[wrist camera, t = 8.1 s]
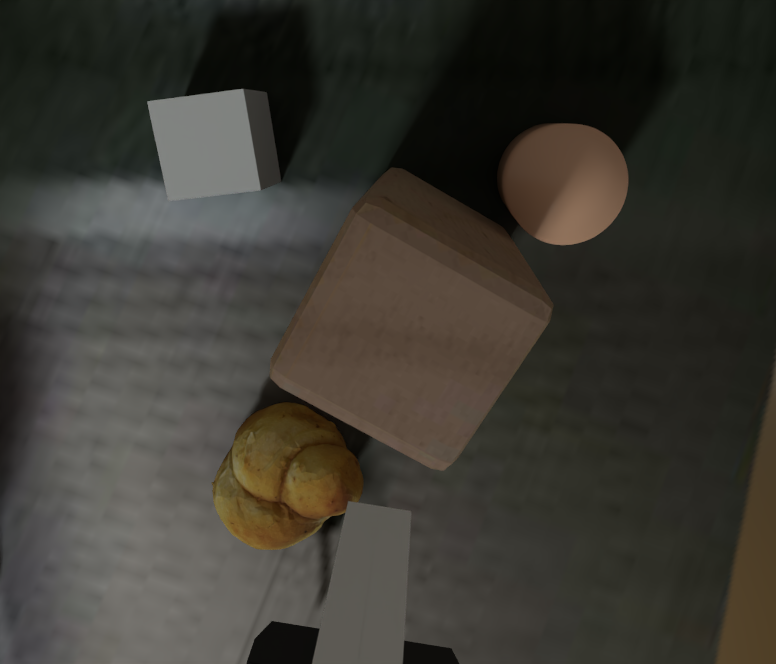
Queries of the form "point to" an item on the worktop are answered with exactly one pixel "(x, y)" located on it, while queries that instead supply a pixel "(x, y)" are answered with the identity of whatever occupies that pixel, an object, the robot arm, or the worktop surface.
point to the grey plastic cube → (215, 143)
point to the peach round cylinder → (563, 182)
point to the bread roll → (285, 477)
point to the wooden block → (413, 321)
